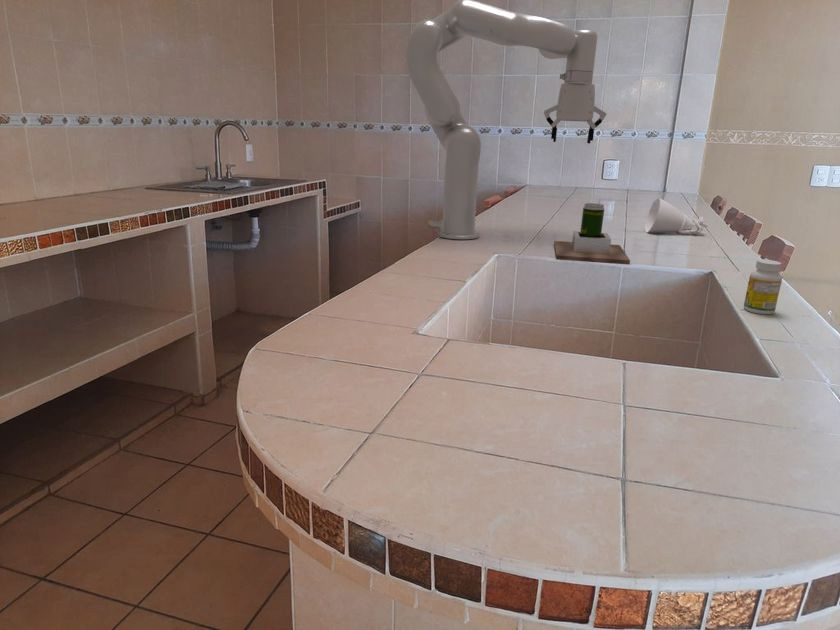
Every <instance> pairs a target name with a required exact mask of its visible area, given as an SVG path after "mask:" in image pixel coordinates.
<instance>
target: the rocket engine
mask: <svg viewBox="0 0 840 630" xmlns="http://www.w3.org/2000/svg"><path fill="white" fill-rule="evenodd" d="M708 226H709V223H708V222H704V216H699V218H698V219H697V218H693V219H691V218H689V217H688V216H687V214H686V213H683V212H682V210H679V209H678V208H677V207H675V206H673V205H672V204H671V203H669V202H668V201H666V200H664V199H662V198H660V197H657V198H656V199H655V200H654V201H653V202H652V204H651V206H650V209H649V211H648V213H647V216H646V219H645V224H644V231H645V233H646V232H647V233H648V234H671V233H677V234H682V235H684V234H685V235H689V234H692V235H693V236H701V235H702V237H705V236H704V235H706V236H707V232H706V231H703V230H704V228H707V227H708Z"/></svg>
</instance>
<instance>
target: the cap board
mask: <svg viewBox="0 0 840 630" xmlns="http://www.w3.org/2000/svg"><path fill="white" fill-rule="evenodd" d="M611 243H612V238H611V237H610V236H609V234H608V233H607V232H601V238H595V237H580V231H578V230H577V231H575V230H573V231H572V239H571V241H564V240H563V241H562V240H561V241H560V240H554V243H553V247H554V252H555V259H556V260H563V261H579V262H592V263H608V264H622V265H630V264H631V260H630V258H629V257H628V255H627V254H626V252H625V250H624V249H623V248H622V246H621V244H611Z"/></svg>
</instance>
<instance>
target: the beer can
mask: <svg viewBox="0 0 840 630" xmlns="http://www.w3.org/2000/svg"><path fill="white" fill-rule="evenodd" d="M604 206H605V205H604V204H601V203H591V202H588V203H584V206H583V207H582V215H581V222H580V223H581V224H580V226H581V227H580V231H579V232H580V237H595V238H601V233H603V232H602V230H603V223H604V216H605V207H604Z"/></svg>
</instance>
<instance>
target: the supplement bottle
mask: <svg viewBox="0 0 840 630" xmlns="http://www.w3.org/2000/svg"><path fill="white" fill-rule="evenodd" d="M781 267H782V262H780V261H777V260H772V259H757V260H756V263H755V268H756V269H755V270H752V271H751V272H750V274H749V278H748V284H747V288H746V292H745V297H744V302H743V309H744V310H745V311H747V312H750V313H753V314H757V315H772V314H774V313H775V311H776V308H777V304H778V299H779V294H780V291H781V286H782V282H783V276H782V275H781V274H780V273H779V272H780V271H781Z"/></svg>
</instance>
